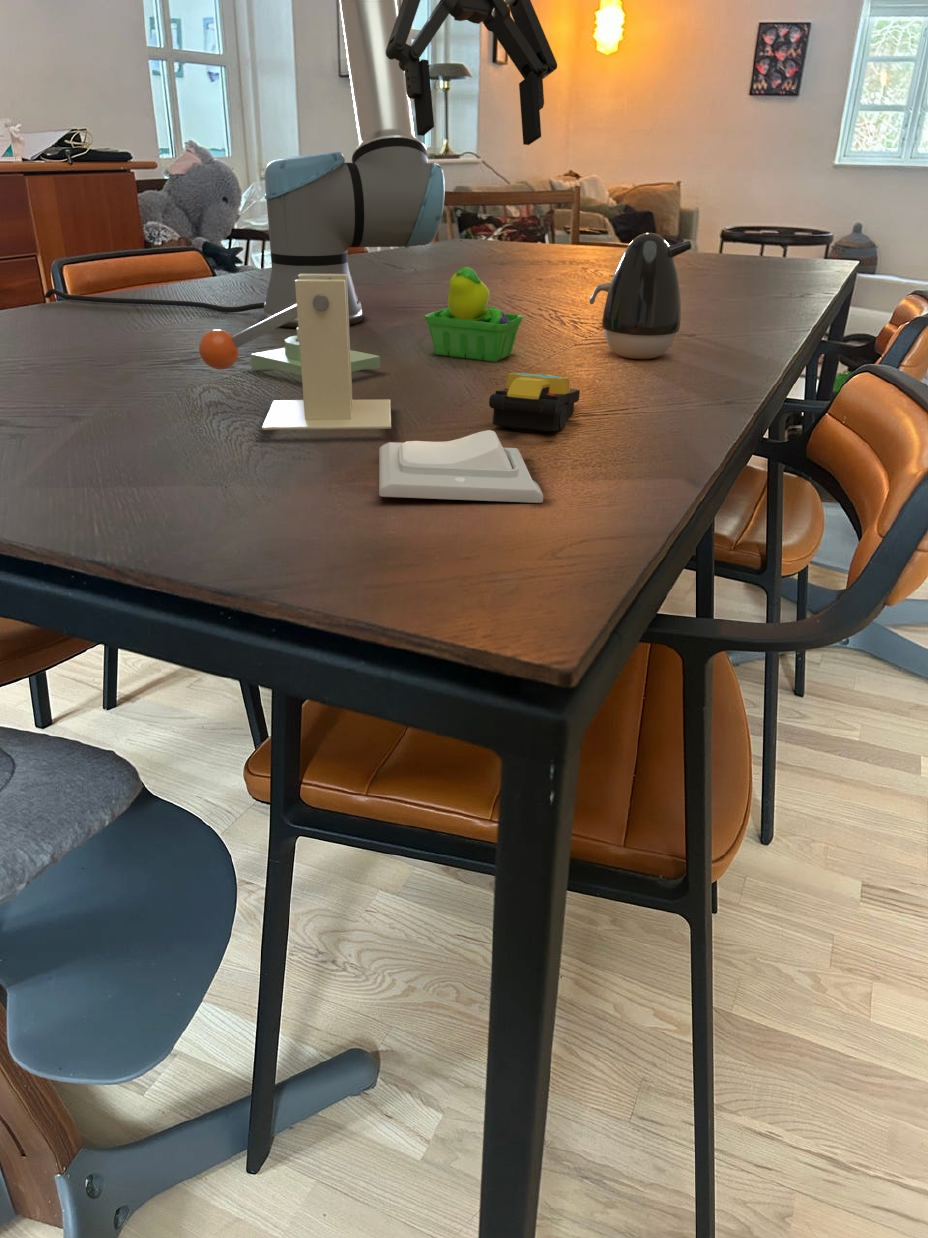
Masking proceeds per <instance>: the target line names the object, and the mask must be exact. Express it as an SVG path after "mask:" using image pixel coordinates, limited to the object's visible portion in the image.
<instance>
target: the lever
mask: <svg viewBox="0 0 928 1238" xmlns="http://www.w3.org/2000/svg"><path fill="white" fill-rule="evenodd" d="M326 280H332V279H331V278H328V279H326ZM296 318H298V316H297V304H296V305H294V306H292V307H290V308H288V309H286V310H284V311H282V312H280V313H278V314H276V315H274V316H272V317H270V318H268V319H266V320H264V319H263V320H262V321H260V322H258V323H256V324H254V325H252V326H250V327H248V328H246V329H244V330H242V331H239V332H238V333H235V334H234V335H232V333H230V332H228V331H226V330H224V329H212V330H209V331H207V332H205V333H204V335H203V336H202V337H201V338H200V341H199V345H198V351H199V355H200V357H201V359H202V361H203V362H204V363H205V364H206V365H207V366H208V367H210V368H211V369H214V370H225V369H229V368H231V367H233V365H234V364H235V363H236V362H237V360H238V358H239V354H240V349H239V347H241V346H243V345H245V344H248V343H249V342H251V341H254V340H255V339H258V338H260V337H261V336H263V335H265V334H266V335H267V334H268V333H270V332H272V331H273V330H277V328H280V327H283V326H282V325H284V324H286V323H288V322H290V321H292V320H294V319H296Z"/></svg>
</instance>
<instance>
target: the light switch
mask: <svg viewBox="0 0 928 1238" xmlns="http://www.w3.org/2000/svg"><path fill="white" fill-rule="evenodd" d="M378 463H379V464H378V495H379V496H380V497H384V498H407V499H408V498H409V499H412V498H413V499H430V500H431V499H433V500H434V499H435V500H436V499H437V500H458V501H459V500H460V501H462V500H463V501H484V502H485V501H486V502H506V503H507V502H509V503H514V502H515V503H533V504H534V503H535V504H541V503H543V502H544V493H543V492H542V488H541V487H540V485H539V483H538V481H537V480H536V479H533V478H532V476H531V474H530V472H529V470H528V467H527V465H526V463H525V461H524V458H523V456H522V454H521V452H520V450H519V448H517V447H503V445H502V443H501V440H500V438H499V437H498V434H497V433H496V432H495V431H494V430H491V429H487V430H482V431H479V432H475V433H472V434H469V435H466V436H463V437H460V438H456V439H452V440H448V441H426V440H425V441H423V440H409V441H404V442H394V441H393V442H392V441H390V442H387V443H384V444H382V445H381V446H380V447H379V449H378Z"/></svg>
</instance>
